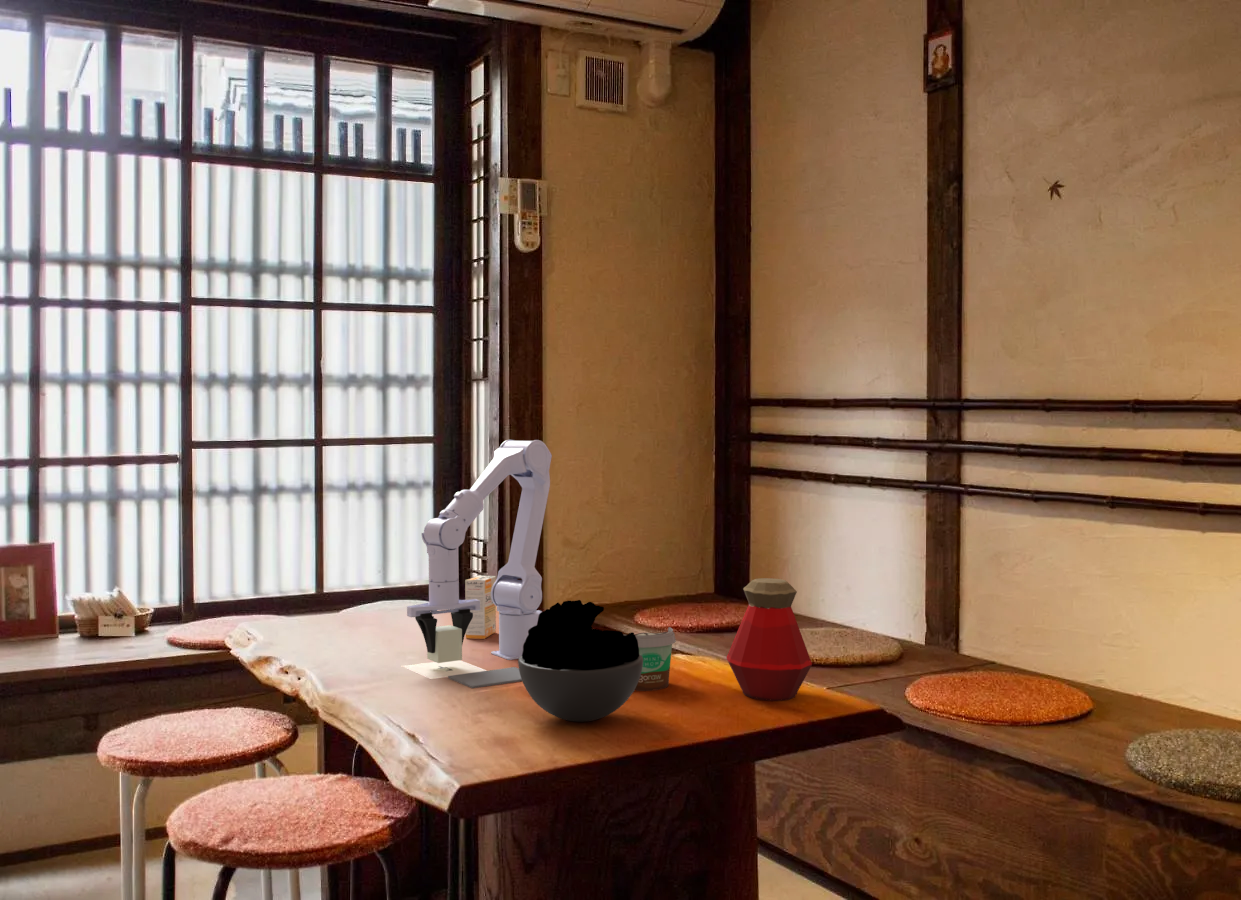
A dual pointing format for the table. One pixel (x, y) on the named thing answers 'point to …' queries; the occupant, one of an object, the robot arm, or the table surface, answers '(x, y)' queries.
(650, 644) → the food container
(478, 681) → the slate mat
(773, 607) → the bottle
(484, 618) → the supplement box
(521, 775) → the table surface
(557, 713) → the bowl of black rocks
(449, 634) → the sage block
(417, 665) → the card
